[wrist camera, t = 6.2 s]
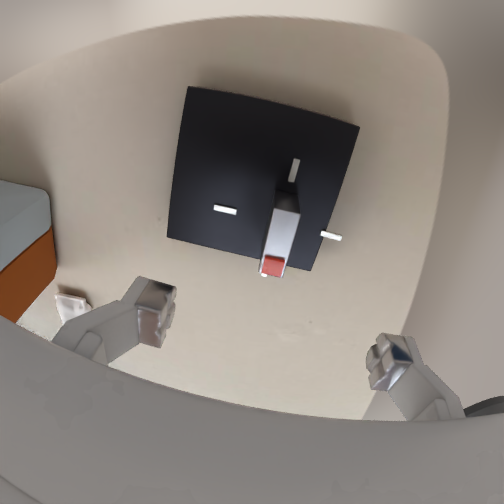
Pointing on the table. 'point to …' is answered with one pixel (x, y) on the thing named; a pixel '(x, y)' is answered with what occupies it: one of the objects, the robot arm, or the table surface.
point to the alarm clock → (24, 247)
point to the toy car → (70, 306)
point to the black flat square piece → (255, 172)
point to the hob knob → (279, 233)
